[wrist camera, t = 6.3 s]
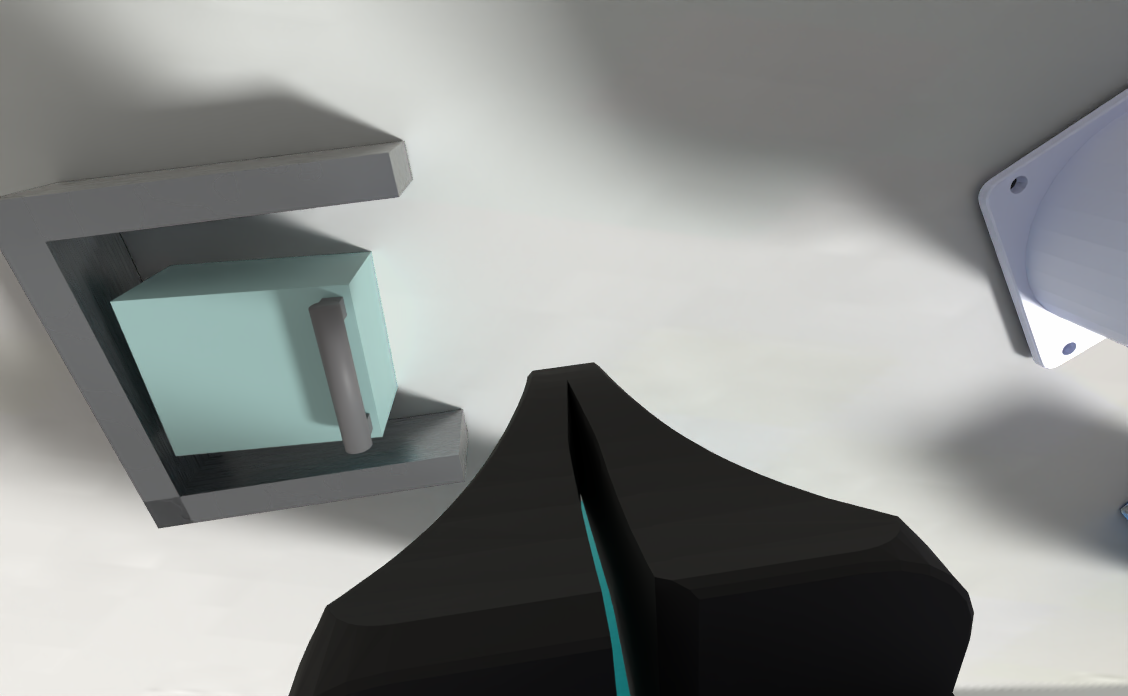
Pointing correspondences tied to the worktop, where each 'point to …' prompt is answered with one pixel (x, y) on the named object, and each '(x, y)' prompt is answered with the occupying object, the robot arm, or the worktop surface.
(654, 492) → the robot arm
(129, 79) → the worktop surface
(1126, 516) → the label tape box
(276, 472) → the bay
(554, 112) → the worktop surface
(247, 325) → the mint cube with handle
